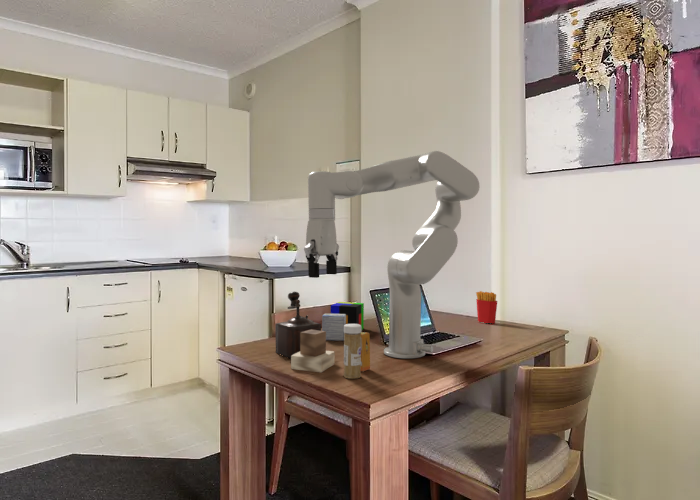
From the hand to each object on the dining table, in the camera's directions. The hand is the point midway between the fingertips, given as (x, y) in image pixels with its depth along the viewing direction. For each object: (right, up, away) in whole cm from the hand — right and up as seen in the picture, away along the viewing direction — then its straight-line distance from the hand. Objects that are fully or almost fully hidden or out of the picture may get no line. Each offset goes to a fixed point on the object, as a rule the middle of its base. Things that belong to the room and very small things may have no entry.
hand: (323, 275), depth 139 cm
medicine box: (+2, -24, +30) cm, 38 cm away
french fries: (+64, -23, +63) cm, 93 cm away
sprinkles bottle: (+8, -25, -14) cm, 30 cm away
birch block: (-3, -25, -4) cm, 26 cm away
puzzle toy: (+7, -23, +46) cm, 52 cm away
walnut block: (-2, -21, -5) cm, 22 cm away
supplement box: (+11, -25, -7) cm, 28 cm away
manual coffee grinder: (-9, -24, +12) cm, 29 cm away
